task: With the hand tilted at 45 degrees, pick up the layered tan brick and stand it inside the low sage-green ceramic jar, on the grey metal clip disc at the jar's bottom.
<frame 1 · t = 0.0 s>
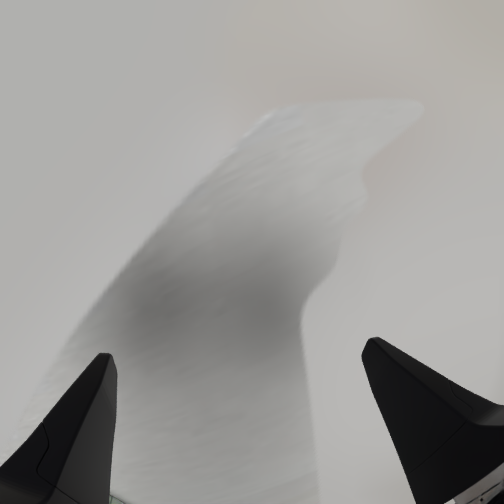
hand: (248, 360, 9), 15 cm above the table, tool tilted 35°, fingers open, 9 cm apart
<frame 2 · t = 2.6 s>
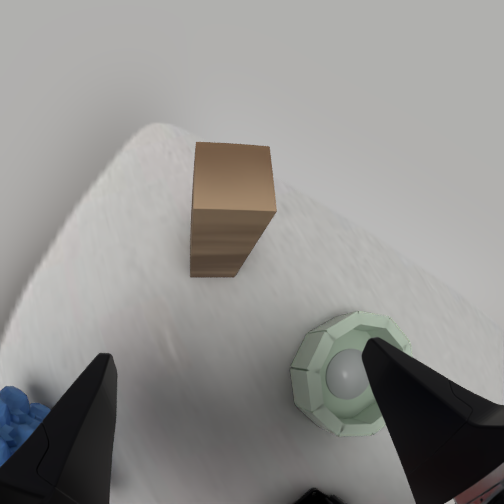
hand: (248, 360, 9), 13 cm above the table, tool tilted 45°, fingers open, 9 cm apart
grapes: (76, 437, 17), on the table
layered tan brick: (211, 256, 24), on the table
jar: (345, 373, 23), on the table
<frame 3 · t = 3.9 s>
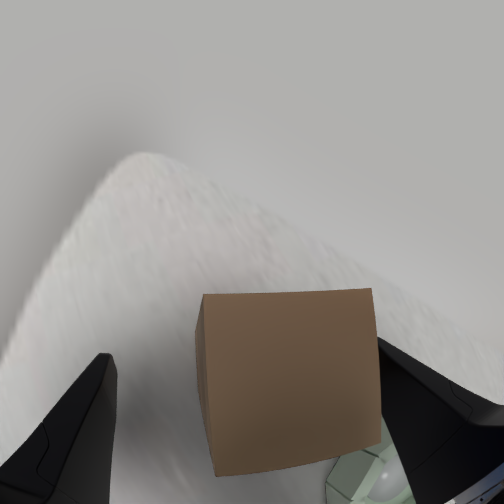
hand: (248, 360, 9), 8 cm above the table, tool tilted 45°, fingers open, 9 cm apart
layered tan brick: (226, 361, 16), on the table
jar: (385, 474, 15), on the table
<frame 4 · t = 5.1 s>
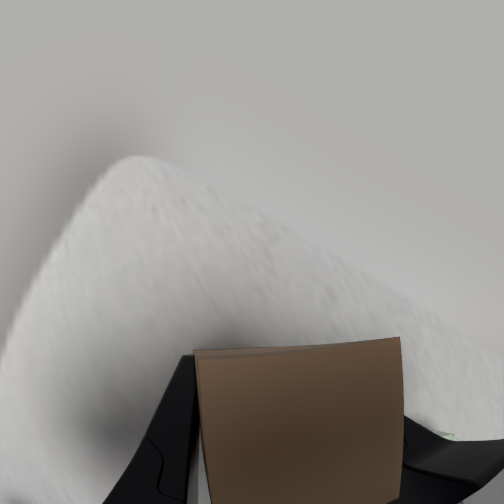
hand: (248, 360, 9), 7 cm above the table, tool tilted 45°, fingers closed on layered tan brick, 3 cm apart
layered tan brick: (227, 380, 15), on the table, touching gripper
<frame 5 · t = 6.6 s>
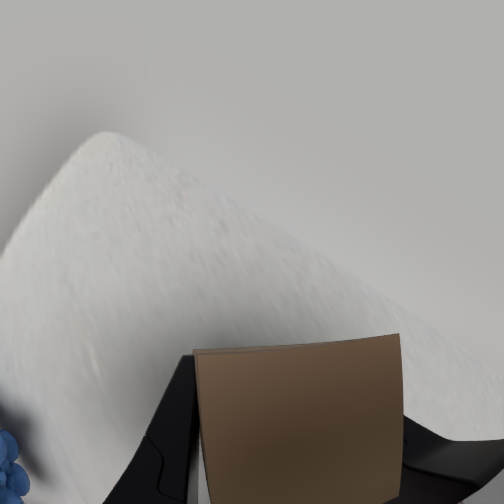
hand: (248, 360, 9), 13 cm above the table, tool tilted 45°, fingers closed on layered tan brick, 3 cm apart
grapes: (17, 434, 15), on the table
layered tan brick: (226, 379, 15), point 7 cm above the table, touching gripper
when the fingers open (8 cm above the table, at t = 8.6 s): layered tan brick stays where it is, resting on jar.
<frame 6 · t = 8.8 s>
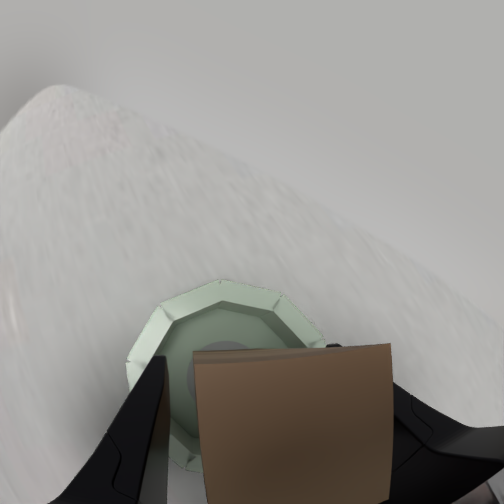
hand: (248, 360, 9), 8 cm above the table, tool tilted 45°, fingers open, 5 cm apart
layered tan brick: (226, 380, 15), point 1 cm above the table, touching jar
jar: (224, 377, 16), on the table
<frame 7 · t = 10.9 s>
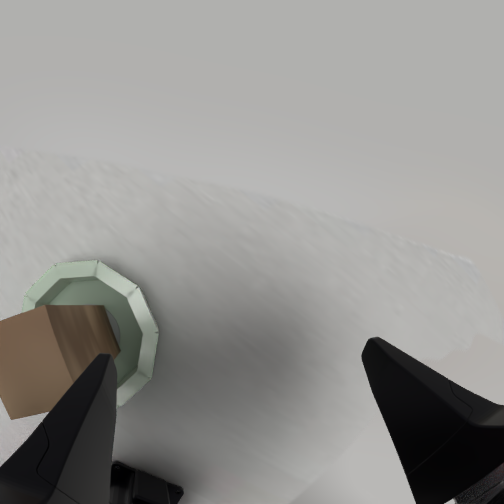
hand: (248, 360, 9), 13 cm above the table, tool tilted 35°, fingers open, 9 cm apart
layered tan brick: (91, 335, 18), point 1 cm above the table, touching jar
jar: (93, 333, 19), on the table
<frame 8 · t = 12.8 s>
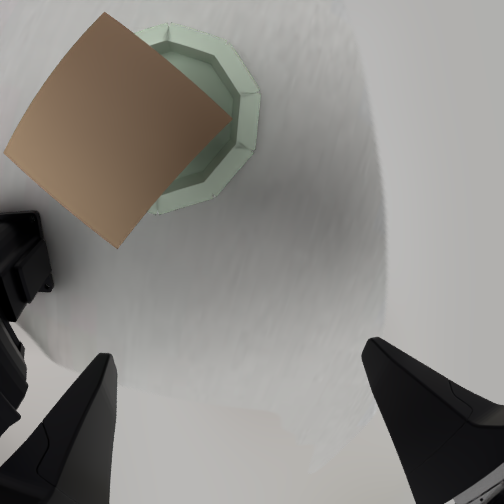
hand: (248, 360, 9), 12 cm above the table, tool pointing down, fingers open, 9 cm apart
layered tan brick: (163, 117, 15), point 1 cm above the table, touching jar
jar: (165, 116, 16), on the table
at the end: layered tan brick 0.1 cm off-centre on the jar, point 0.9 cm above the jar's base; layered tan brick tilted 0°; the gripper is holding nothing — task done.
